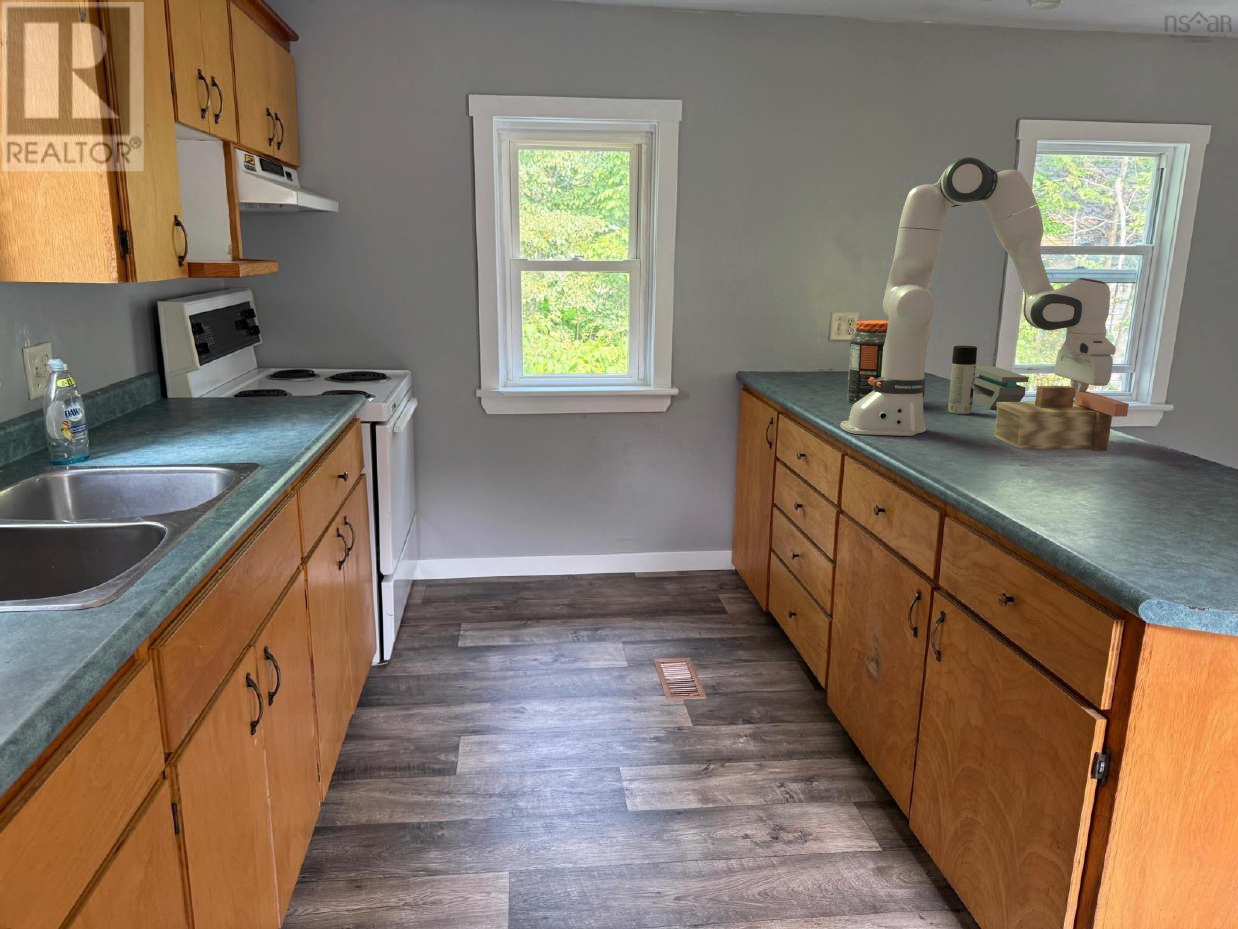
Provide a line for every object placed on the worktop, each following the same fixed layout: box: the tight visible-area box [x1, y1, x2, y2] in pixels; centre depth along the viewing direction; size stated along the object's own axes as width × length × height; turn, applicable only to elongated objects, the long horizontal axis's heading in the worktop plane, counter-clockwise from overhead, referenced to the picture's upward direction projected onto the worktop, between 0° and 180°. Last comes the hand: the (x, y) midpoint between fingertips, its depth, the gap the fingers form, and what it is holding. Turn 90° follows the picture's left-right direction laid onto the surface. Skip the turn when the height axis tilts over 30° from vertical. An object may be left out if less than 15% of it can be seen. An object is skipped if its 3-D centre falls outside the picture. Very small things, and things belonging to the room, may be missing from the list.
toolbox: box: [993, 399, 1113, 451], centre depth 214 cm, size 22×19×9 cm
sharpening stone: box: [973, 365, 1030, 410], centre depth 266 cm, size 25×8×11 cm, turn 0°
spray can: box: [947, 345, 978, 415], centre depth 253 cm, size 7×7×20 cm
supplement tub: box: [847, 319, 889, 404], centre depth 271 cm, size 16×16×26 cm
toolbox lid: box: [996, 385, 1114, 418], centre depth 213 cm, size 22×14×8 cm, turn 90°
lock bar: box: [1074, 391, 1129, 418], centre depth 207 cm, size 3×18×3 cm, turn 0°
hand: (1077, 398), depth 217 cm, fingers closed
